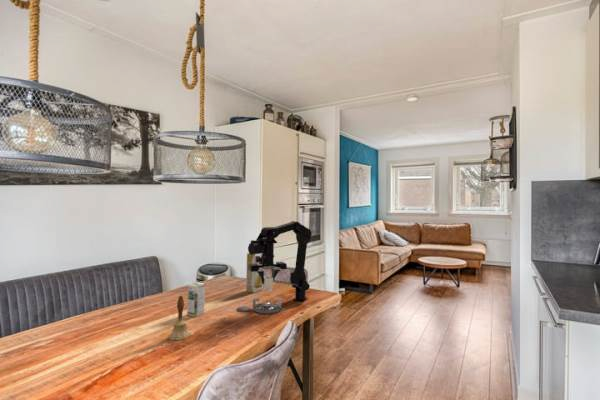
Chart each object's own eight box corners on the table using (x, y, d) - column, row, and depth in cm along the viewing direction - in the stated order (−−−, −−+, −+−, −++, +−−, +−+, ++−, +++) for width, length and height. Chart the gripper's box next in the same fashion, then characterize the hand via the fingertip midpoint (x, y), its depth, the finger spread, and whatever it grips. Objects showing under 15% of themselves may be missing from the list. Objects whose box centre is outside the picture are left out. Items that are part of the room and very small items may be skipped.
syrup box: (186, 315, 149) (187, 284, 149) (196, 311, 154) (196, 281, 154) (195, 317, 147) (196, 286, 147) (204, 313, 152) (205, 283, 152)
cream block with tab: (259, 287, 162) (260, 274, 162) (267, 286, 164) (268, 274, 164) (266, 292, 153) (266, 279, 153) (275, 291, 155) (275, 278, 155)
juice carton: (254, 293, 185) (255, 252, 185) (244, 291, 189) (244, 251, 189) (264, 289, 193) (264, 250, 193) (254, 287, 197) (254, 249, 197)
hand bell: (169, 333, 129) (169, 294, 129) (190, 330, 132) (191, 292, 132) (168, 342, 121) (169, 300, 121) (191, 338, 124) (191, 298, 124)
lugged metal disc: (251, 314, 151) (252, 303, 151) (254, 304, 165) (254, 294, 165) (281, 314, 152) (281, 303, 152) (280, 304, 166) (281, 294, 166)
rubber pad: (242, 306, 163) (242, 305, 163) (253, 308, 159) (253, 307, 159) (233, 310, 156) (233, 309, 156) (245, 312, 153) (245, 312, 153)
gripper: (279, 249, 170) (279, 278, 170) (245, 251, 162) (245, 281, 162) (287, 252, 160) (286, 283, 160) (251, 254, 152) (250, 287, 152)
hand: (267, 283), depth 159 cm, fingers closed on cream block with tab, 4 cm apart
